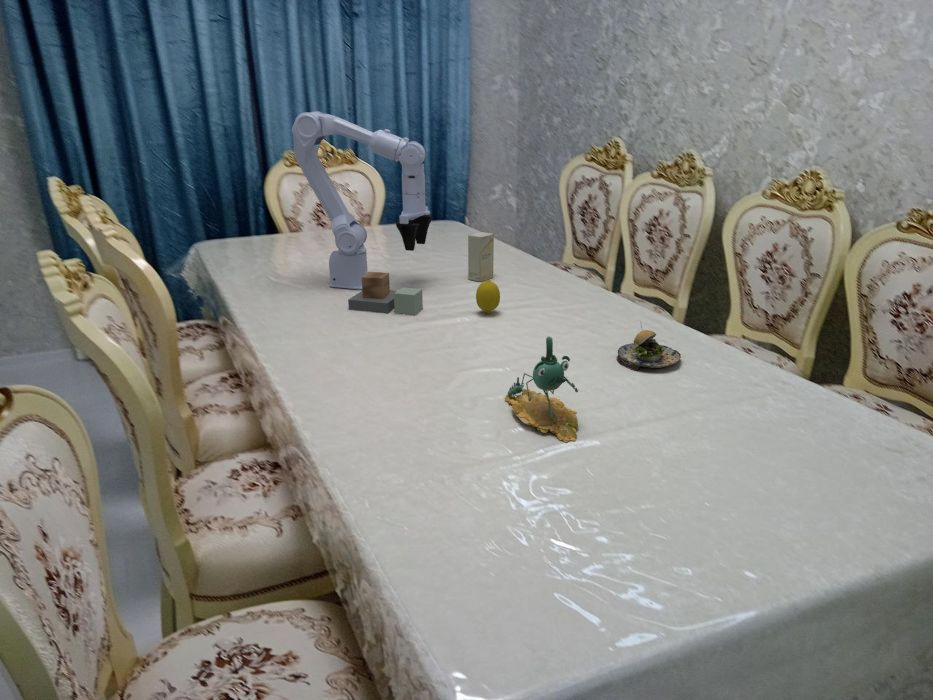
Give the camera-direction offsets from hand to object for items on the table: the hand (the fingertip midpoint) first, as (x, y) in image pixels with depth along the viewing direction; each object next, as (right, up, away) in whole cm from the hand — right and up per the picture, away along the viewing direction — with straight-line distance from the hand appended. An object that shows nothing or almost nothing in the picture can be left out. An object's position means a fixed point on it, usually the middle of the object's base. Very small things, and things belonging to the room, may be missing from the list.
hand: (415, 246), depth 170 cm
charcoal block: (-8, -16, -11) cm, 21 cm away
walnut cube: (-8, -13, -12) cm, 20 cm away
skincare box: (+17, -7, +11) cm, 21 cm away
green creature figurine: (+25, -37, -64) cm, 79 cm away
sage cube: (0, -18, -15) cm, 23 cm away
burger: (+48, -29, -43) cm, 71 cm away
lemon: (+18, -18, -17) cm, 31 cm away
